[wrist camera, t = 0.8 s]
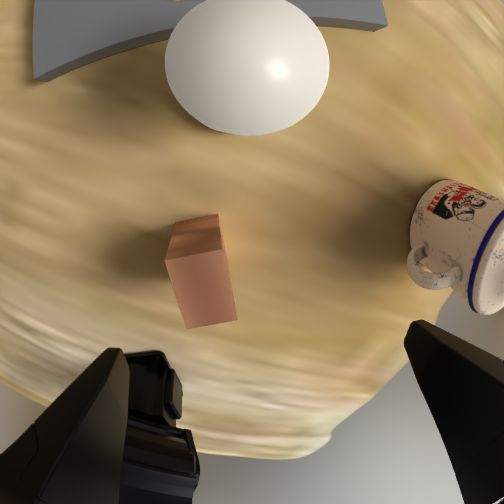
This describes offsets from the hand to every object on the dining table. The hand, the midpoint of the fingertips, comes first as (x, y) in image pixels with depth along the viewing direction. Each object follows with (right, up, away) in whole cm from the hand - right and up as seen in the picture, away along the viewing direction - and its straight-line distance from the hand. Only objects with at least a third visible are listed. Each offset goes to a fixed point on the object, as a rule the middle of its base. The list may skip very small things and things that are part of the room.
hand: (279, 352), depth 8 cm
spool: (-2, +14, +8) cm, 16 cm away
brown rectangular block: (-4, +3, +13) cm, 14 cm away
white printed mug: (+16, +5, +15) cm, 22 cm away
